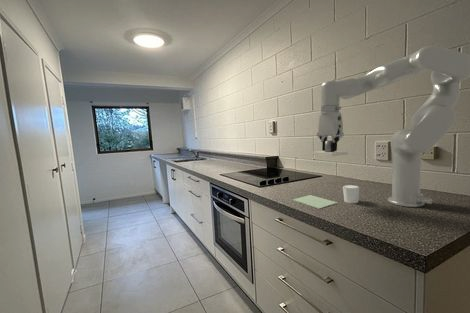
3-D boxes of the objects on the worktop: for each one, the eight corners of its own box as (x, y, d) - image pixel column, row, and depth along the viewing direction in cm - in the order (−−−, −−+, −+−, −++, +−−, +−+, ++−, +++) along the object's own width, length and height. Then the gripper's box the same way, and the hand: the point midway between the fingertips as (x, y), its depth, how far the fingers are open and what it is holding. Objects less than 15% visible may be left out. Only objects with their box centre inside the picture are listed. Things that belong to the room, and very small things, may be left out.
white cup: (345, 198, 107) (344, 184, 106) (361, 200, 102) (360, 185, 102) (341, 202, 101) (341, 187, 101) (358, 204, 97) (357, 189, 96)
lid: (348, 154, 99) (348, 140, 98) (331, 156, 94) (331, 141, 93) (327, 152, 108) (327, 140, 108) (311, 154, 103) (311, 141, 103)
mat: (337, 203, 100) (337, 202, 100) (318, 209, 95) (318, 208, 95) (310, 195, 114) (310, 194, 114) (292, 200, 109) (292, 199, 109)
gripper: (352, 108, 93) (351, 151, 95) (320, 112, 108) (320, 149, 110) (341, 108, 90) (340, 152, 92) (309, 111, 104) (309, 150, 107)
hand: (329, 150), depth 101 cm, fingers closed on lid, 4 cm apart
